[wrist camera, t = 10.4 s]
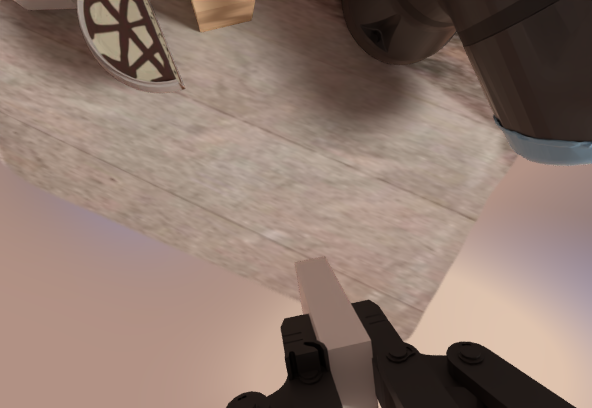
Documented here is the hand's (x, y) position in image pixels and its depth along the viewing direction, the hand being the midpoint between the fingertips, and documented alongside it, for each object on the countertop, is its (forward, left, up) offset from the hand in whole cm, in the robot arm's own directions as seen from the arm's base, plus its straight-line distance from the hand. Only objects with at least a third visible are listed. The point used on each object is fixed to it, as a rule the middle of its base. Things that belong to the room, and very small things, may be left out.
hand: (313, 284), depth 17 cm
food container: (+11, -18, -28) cm, 35 cm away
